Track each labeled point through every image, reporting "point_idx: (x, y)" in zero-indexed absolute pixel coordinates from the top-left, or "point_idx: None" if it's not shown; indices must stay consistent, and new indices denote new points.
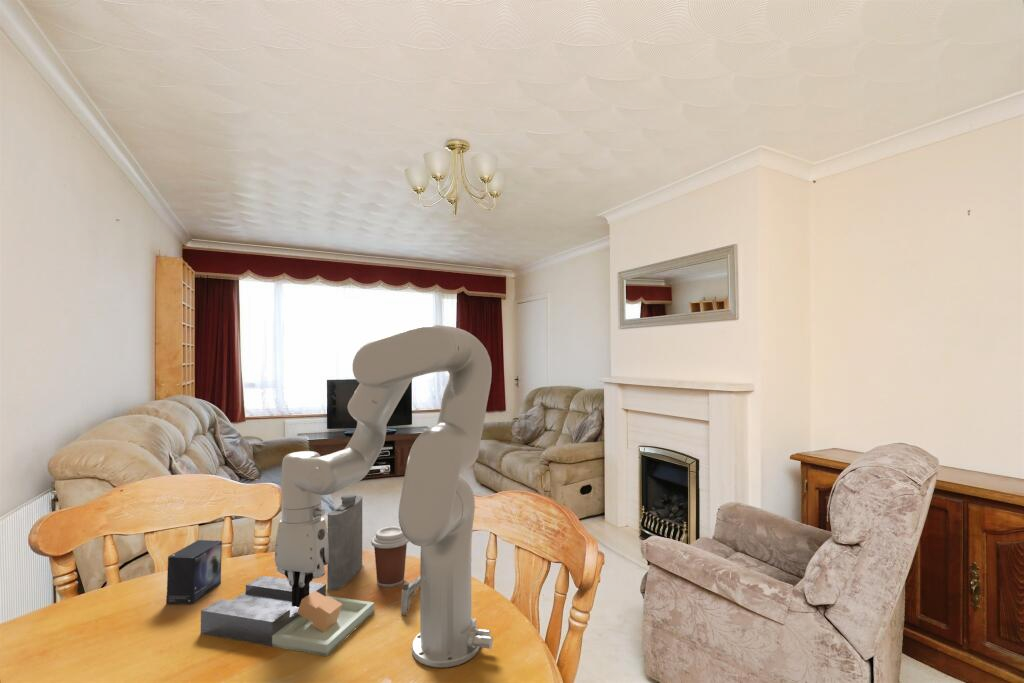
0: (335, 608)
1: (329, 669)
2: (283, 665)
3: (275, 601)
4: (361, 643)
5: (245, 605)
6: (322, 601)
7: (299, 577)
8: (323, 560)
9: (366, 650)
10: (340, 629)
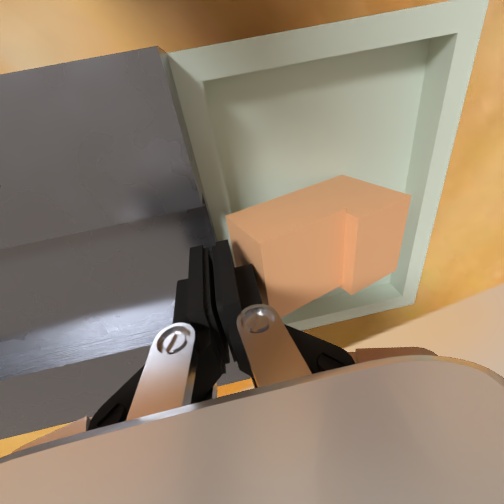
0: (400, 237)
1: (423, 305)
2: (322, 338)
3: (46, 268)
4: (462, 212)
5: (46, 382)
6: (332, 249)
7: (197, 364)
8: (420, 386)
9: (484, 228)
10: (417, 245)
